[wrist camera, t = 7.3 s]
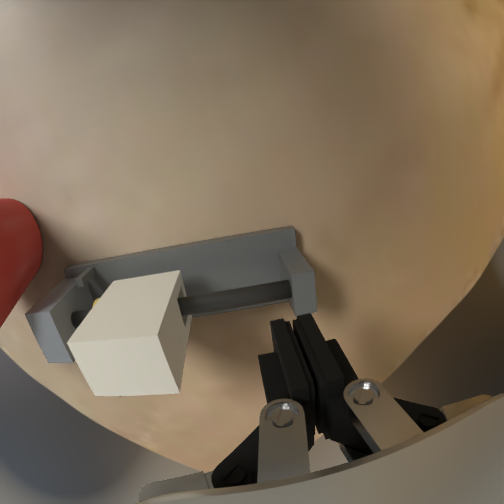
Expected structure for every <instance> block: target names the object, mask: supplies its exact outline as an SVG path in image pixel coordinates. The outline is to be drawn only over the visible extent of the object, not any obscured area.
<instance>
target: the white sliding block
mask: <svg viewBox="0 0 504 504" xmlns="http://www.w3.org/2000/svg"><path fill="white" fill-rule="evenodd" d="M185 296H187V295H186V291H185V287H184V283H183V279H182V275H181V271H180V270H177V271H171V272H165V273H159V274H153V275H147V276H141V277H135V278H129V279H122V280H116V281H113V282H112V284H111V285H110V286H109V287H108V289H107V290H106V291H105V292H104V294H103V295H102V296H101V298H100V299H99V300H98V301H97V303H96V304H95V305H94V307H93V308H92V309H91V311H90V312H89V313H88V315H87V316H86V317H85V318H84V320H83V321H82V323H81V324H80V325H79V327H78V328H77V329H76V331H75V332H74V333H73V335H72V336H71V338H70V339H69V340H68V342H67V344H68V346H69V348H70V350H71V352H72V354H73V356H74V358H75V360H76V362H77V364H78V366H79V368H80V370H81V372H82V373H83V375H84V377H85V379H86V381H87V382H88V384H89V386H90V388H91V389H92V391H93V393H94V395H95V396H137V395H159V394H174V393H180V388H181V382H182V375H183V369H184V362H185V356H186V350H187V344H188V338H189V332H190V326H191V320H192V315H187V316H182V315H181V312H180V308H179V305H178V301H177V298H179V297H185Z"/></svg>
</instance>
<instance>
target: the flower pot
mask: <svg viewBox="0 0 504 504" xmlns="http://www.w3.org/2000/svg"><path fill="white" fill-rule="evenodd" d="M42 256H43V242H42V237H41V233H40V229H39V227H38V224H37V222H36V221H35V219H34V217H33V215H32V213H31V212H30V211H29V209H28V208H27V207H26V206H25V205H23V204H22V203H21V202H19V201H17V200H14V199H0V328H1V326H2V324H3V323H4V321H5V320H6V318H7V317H8V315H9V314H10V312H11V311H12V309H13V308H14V306H15V305H16V303H17V302H18V300H19V299H20V297H21V296H22V294H23V292H24V291H25V289H26V288H27V286H28V285H29V283H30V282H31V281H32V279H33V278H34V276H35V275H36V273H37V272H38V270H39V268H40V265H41V262H42Z"/></svg>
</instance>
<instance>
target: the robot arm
mask: <svg viewBox="0 0 504 504" xmlns="http://www.w3.org/2000/svg"><path fill="white" fill-rule="evenodd" d="M270 325H271V332H272V340H273V347H274V352H273V353H267V354H262V355H258V359H259V364H260V370H261V375H262V380H263V385H264V390H265V395H266V400H267V405H265V406H264V407H263V409H262V410H261V413H260V422H259V426H258V427H257V428H256V429H255V430H254V431H253V432H252V433H251V434H250V435H249V436H248V437H247V438H246V439H245V440H244V441H243V442H242V443H241V444H240V445H239V446H238V447H237V448H236V449H235V450H234V451H233V452H232V453H231V454H230V455H229V456H227V457H226V458H225V459H224V460H223V461H222V462H221V463H220V464H219V465H218V466H217V467H216V468H215V469H214V471H211V472H207V473H204V472H203V471H202V472H198V473H194V474H190V475H185V476H181V477H176V478H172V479H167V480H162V481H156V482H152V483H149V484H146V485H145V486H144V487H143V488H142V489H141V491H140V493H139V503H137V504H504V393H503V394H500V395H497V396H494V397H491V396H489V395H479V396H476V397H473V398H470V399H467V400H463V401H460V402H456V403H453V404H449V405H445V406H443V407H442V409H437V408H434V407H429V406H425V405H421V404H417V403H413V402H409V401H404V400H400V399H397V398H393V397H392V396H391V395H390V394H389V393H388V392H387V391H386V390H385V388H384V387H383V386H382V385H381V384H380V383H378V382H377V381H375V380H372V379H366V378H365V379H358V377H357V375H356V373H355V372H354V370H353V368H352V366H351V365H350V363H349V361H348V359H347V358H346V356H345V354H344V352H343V351H342V349H341V347H340V345H339V344H338V342H337V341H336V339H332V340H328V341H325V339H324V337H323V335H322V333H321V332H320V330H319V328H318V326H317V324H316V322H315V320H314V318H313V317H312V315H311V313H308V314H303V315H298V316H297V319H296V320H293V329H292V327H291V324H290V322H289V321H286V322H285V321H284V319H278V320H273V321H270ZM293 331H294V332H293ZM315 425H316V428H317V431H318V433H319V434H320V433H323V434H324V436H325V439H331V440H333V441H336V442H338V444H339V447H340V449H341V451H342V452H343V454H344V456H345V457H346V459H347V461H348V463H344V464H341V465H338V466H334V467H331V468H328V469H324V470H320V471H316V472H312V473H310V463H309V453H308V452H309V450H310V449H311V448H312V446H313V445H314V435H315Z"/></svg>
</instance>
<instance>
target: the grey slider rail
mask: <svg viewBox="0 0 504 504" xmlns="http://www.w3.org/2000/svg"><path fill="white" fill-rule="evenodd" d="M177 270H180V271H181V275H182V279H183V283H184V287H185V291H186V295H187V296H185V297H179V298H177V301H178V305H179V308H180V312H181V315H182V316H187V315H192V317H197V316H204V315H211V314H217V313H224V312H230V311H236V310H242V309H248V308H254V307H260V306H265V305H271V304H276V303H282V302H287V301H289V303H290V305H291V308H292V310H293V312H294V315H295V316H298V315H303V314H308V313H314V312H317V303H316V287H315V273H314V270H313V268H312V267H311V266H310V264H309V263H308V262H307V260H306V259H305V258H304V256H303V255H302V254H301V253H300V251H299V250H298V249H297V245H296V236H295V229H294V228H293V227H292V226H288V227H281V228H275V229H269V230H263V231H257V232H251V233H245V234H239V235H233V236H227V237H221V238H215V239H209V240H204V241H198V242H192V243H187V244H181V245H175V246H170V247H164V248H159V249H153V250H148V251H142V252H137V253H132V254H126V255H121V256H116V257H110V258H105V259H100V260H95V261H90V262H84V263H79V264H74V265H69V266H68V267H67V268H65V269H64V272H65V275H66V277H65V278H64V279H62V280H61V281H60V282H59V283H58V284H57V285H56V286H55V287H54V288H52V289H51V290H50V291H49V292H48V293H47V294H46V295H45V296H44V297H43V298H42V299H40V300H39V301H38V302H37V303H36V304H35V305H34V306H33V307H32V308H31V309H30V310H29V311H28V312H27V313H26V314H25V315H26V318H27V320H28V322H29V325H30V327H31V329H32V331H33V333H34V335H35V337H36V339H37V342H38V344H39V346H40V348H41V349H42V351H43V353H44V355H45V357H46V359H47V361H48V363H74V361H75V358H74V356H73V354H72V352H71V350H70V348H69V346H68V344H67V342H68V340H69V339H70V338H71V336H72V335H73V333H74V332H75V331H76V329H77V328H78V327H79V325H80V324H81V323H82V321H83V320H84V318H85V317H86V316H87V315H88V313H89V312H90V311H91V309H92V308H93V307H94V305H95V304H96V303H97V301H98V300H99V299H100V298H101V296H102V295H103V294H104V292H105V291H106V290H107V289H108V287H109V286H110V285H111V284H112V282H113V281H116V280H122V279H129V278H135V277H141V276H147V275H153V274H159V273H165V272H171V271H177Z"/></svg>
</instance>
